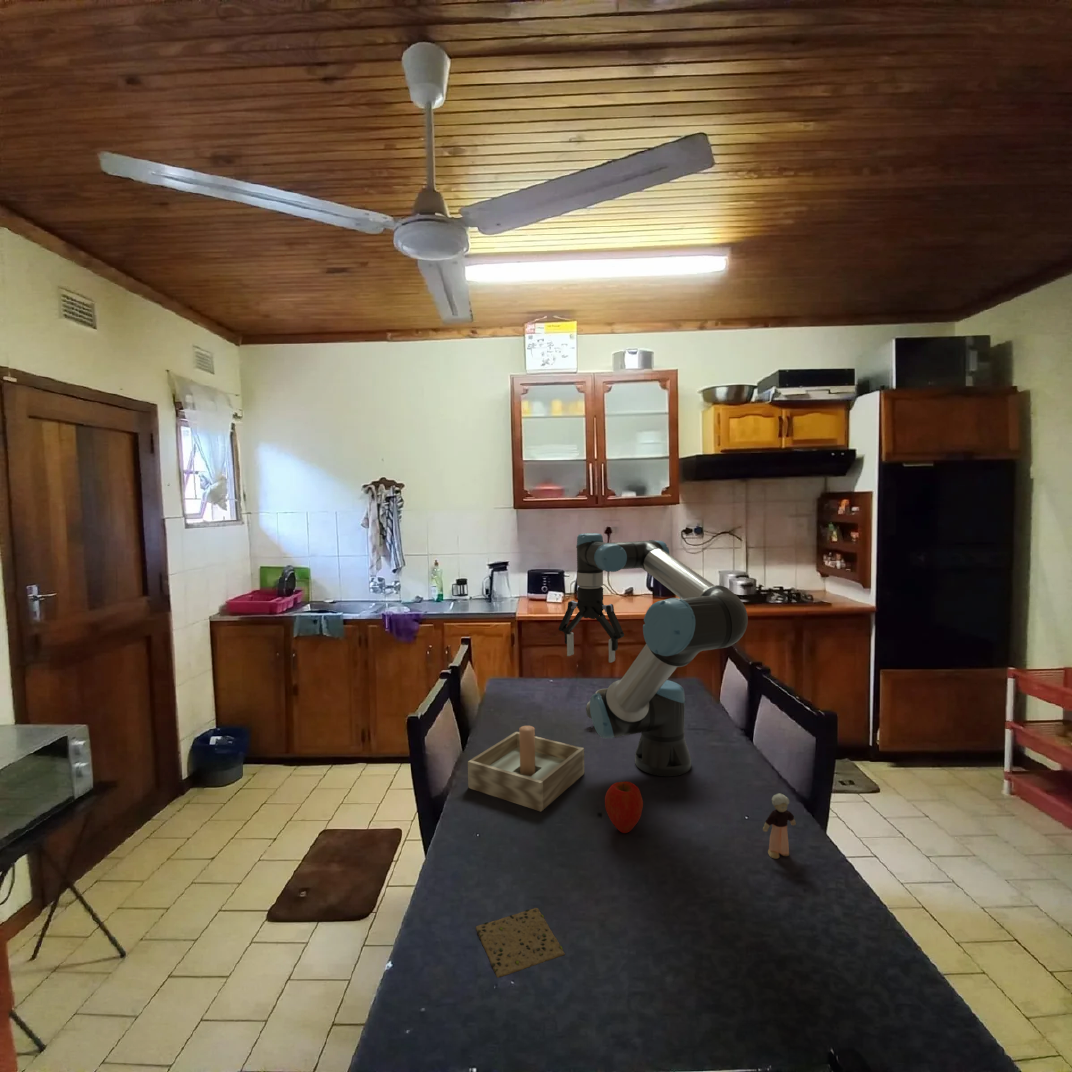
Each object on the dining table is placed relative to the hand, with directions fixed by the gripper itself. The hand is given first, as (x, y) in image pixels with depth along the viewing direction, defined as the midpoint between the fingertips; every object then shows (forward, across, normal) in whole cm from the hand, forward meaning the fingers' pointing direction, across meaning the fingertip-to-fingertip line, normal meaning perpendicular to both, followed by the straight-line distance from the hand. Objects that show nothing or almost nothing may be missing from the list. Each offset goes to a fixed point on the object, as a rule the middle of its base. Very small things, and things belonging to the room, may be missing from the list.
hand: (590, 658), depth 172 cm
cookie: (+27, -24, +74) cm, 82 cm away
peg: (+27, +5, +27) cm, 38 cm away
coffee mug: (+27, +4, -18) cm, 33 cm away
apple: (+27, -26, +35) cm, 51 cm away
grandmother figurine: (+27, -57, +26) cm, 68 cm away
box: (+27, +5, +27) cm, 38 cm away
